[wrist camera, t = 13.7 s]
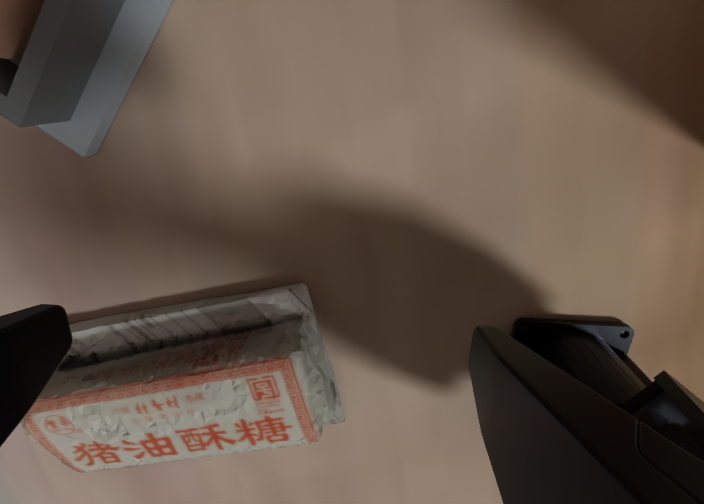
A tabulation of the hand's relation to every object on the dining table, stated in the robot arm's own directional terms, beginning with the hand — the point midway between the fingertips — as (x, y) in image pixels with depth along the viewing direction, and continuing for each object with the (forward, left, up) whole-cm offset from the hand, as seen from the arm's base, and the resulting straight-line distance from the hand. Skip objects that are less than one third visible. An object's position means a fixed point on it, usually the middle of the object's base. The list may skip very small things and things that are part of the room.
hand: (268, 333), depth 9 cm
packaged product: (+8, +12, -14) cm, 20 cm away
